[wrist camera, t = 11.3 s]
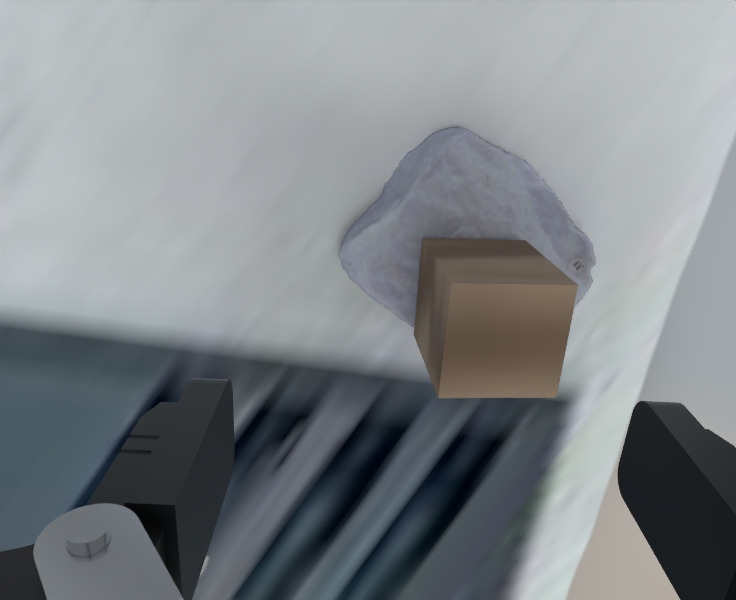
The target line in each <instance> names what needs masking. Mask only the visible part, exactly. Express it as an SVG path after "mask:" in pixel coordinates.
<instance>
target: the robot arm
mask: <svg viewBox="0 0 736 600" xmlns="http://www.w3.org/2000/svg"><path fill="white" fill-rule="evenodd" d="M233 461H234V419H233V390H232V383H231V381H230V380H223V379H202V378H192V379H190V381H189V383H188V385H187V386H186V388H185V390H184V392H183V394H182V396H181V398H180V399H179V401H178V403H171V402H161V403H159V404H158V405H157V406H155V407H154V408H153V409H151V410H150V411H148V412H147V413H146V414H144V415H143V416H142V417H141V418H140V419H139V421H138V423H137V424H136V426H135V428H134V429H133V431H132V432H131V434H130V438H128V439H127V441H126V442H125V444H124V445H123V447H122V449H121V453H119V454H118V455H117V457H116V458H115V460H114V462H113V463H112V465H111V467H110V468H109V470H108V471H107V473H106V475H105V476H104V478H103V480H102V481H101V483H100V484H99V486H98V488H97V489H96V491H95V493H94V494H93V496H92V497H91V499H90V501H89V502H88V504H87V506H83V507H80V508H77V509H74V510H72V511H70V512H67V513H65V514H64V515H62V516H60V517H58V518H57V519H56V520H54V521H53V522H51V523H50V524H49V525H48V526H47V527H46V528H45V529H44V530H43V531H42V532H41V534H40V535H39V537H38V538H37V540H36V542H35V544H33V545H30V546H26V547H22V548H18V549H12V550H7V551H2V552H0V600H192V598H193V595H194V591H195V588H196V585H197V582H198V579H199V576H200V573H201V569H202V566H203V563H204V560H205V557H206V554H207V551H208V547H209V544H210V541H211V538H212V535H213V532H214V529H215V525H216V522H217V519H218V516H219V513H220V510H221V507H222V504H223V500H224V497H225V494H226V491H227V488H228V485H229V482H230V478H231V474H232V469H233ZM618 484H619V489H620V493H621V495H622V498H623V500H624V501H625V503H626V505H627V507H628V508H629V510H630V512H631V514H632V515H633V517H634V519H635V521H636V522H637V524H638V526H639V528H640V529H641V531H642V533H643V535H644V536H645V538H646V540H647V541H648V543H649V545H650V547H651V549H652V550H653V552H654V554H655V555H656V557H657V559H658V561H659V563H660V564H661V566H662V568H663V570H664V571H665V573H666V575H667V577H668V579H669V580H670V582H671V584H672V585H673V587H674V589H675V591H676V593H677V594H678V596H679V598H680V599H681V600H736V448H735V447H734V446H733V445H732V444H730V443H729V442H727V441H725V440H724V439H723V438H721V437H719V436H718V435H716V434H715V433H713V432H712V431H710V430H709V429H704V427H703V426H702V425H701V424H700V423H699V422H698V421H697V420H696V418H695V417H694V416H693V415H692V414H691V413H690V412H689V411H688V410H687V408H686V407H685V406H684V405H682V404H681V403H671V402H652V401H640V402H638V403H637V404H636V406H635V407H634V409H633V412H632V416H631V420H630V424H629V427H628V431H627V435H626V439H625V442H624V446H623V450H622V454H621V458H620V462H619V466H618Z"/></svg>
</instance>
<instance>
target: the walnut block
mask: <svg viewBox="0 0 736 600" xmlns="http://www.w3.org/2000/svg"><path fill="white" fill-rule="evenodd" d="M577 289H578V285H577V284H576V283H575V282H574V281H573V280H572V279H570V278H569V277H568V276H567V275H566V274H565V273H563V272H562V271H561V270H560V269H559V268H558V267H556V266H555V265H554V264H553V263H552V262H550V261H549V260H548V259H547V258H546V257H545V256H543V255H542V254H541V253H540V252H539V251H538V250H536V249H535V248H534V247H533V246H532V245H531V244H529V243H528V242H527V241H526V240H489V239H446V238H422V248H421V260H420V271H419V282H418V293H417V305H416V316H415V327H414V336H415V339H416V342H417V344H418V347H419V349H420V352H421V354H422V357H423V360H424V362H425V365H426V367H427V370H428V373H429V375H430V378H431V380H432V383H433V386H434V388H435V391H436V393H437V396H438V398H548V397H556V396H557V391H558V386H559V381H560V376H561V371H562V365H563V360H564V355H565V350H566V345H567V340H568V335H569V330H570V325H571V319H572V314H573V309H574V304H575V299H576V294H577Z"/></svg>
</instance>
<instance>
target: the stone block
mask: <svg viewBox="0 0 736 600" xmlns="http://www.w3.org/2000/svg"><path fill="white" fill-rule="evenodd" d="M422 238H446V239H489V240H526V241H527V242H528V243H529V244H531V245H532V246H533V247H534V248H535V249H536V250H538V251H539V252H540V253H541V254H542V255H543V256H545V257H546V258H547V259H548V260H549V261H550V262H552V263H553V264H554V265H555V266H556V267H558V268H559V269H560V270H561V271H562V272H563V273H565V274H566V275H567V276H568V277H569V278H570V279H572V280H573V281H574V282H575V283H576V284H577V285H578V289H577V294H576V299H575V304H574V307H575V306H576V305H577V304H578V303H579V302H580V301H581V299H582V298H583V297H584V295H585V294H586V292H587V291H588V289H589V288H590V286H591V284H592V282H593V280H592V277H591V272H590V269H591V268H592V267H593V266H594V265H595V264H596V259H595V255H594V251H593V244H592V242H591V241H590V239H589V238H588V237H587V236H586V235H585V234H584V233H583V232H582V231H580V230H579V229H578V228H577V227H576V226H575V225H574V224H573V222H572V221H571V219H570V218H569V216H568V214H567V212H566V210H565V209H564V207H563V205H562V203H561V202H560V201H559V200H558V198H557V197H556V195H555V194H554V193H553V191H552V190H551V189H550V187H549V186H548V185H547V184H546V183H545V182H544V181H543V180H542V179H541V178H540V177H539V175H538V174H537V173H536V172H535V171H534V169H533V168H532V167H531V166H530V165H529V164H528V163H527V162H526V161H524V160H522V159H520V158H517V157H515V156H513V155H511V154H509V153H507V152H505V151H503V150H502V149H501V148H500V147H498V146H495V145H491V144H489V143H486V142H485V141H484V140H482V139H481V138H479V137H477V136H476V135H475V134H474V133H473V132H471V131H469V130H467V129H465V128H461V127H455V128H453V127H452V128H449V129H444V130H441V131H438V132H435V133H433V134H432V135H431V136H429V137H428V138H426V139H425V140H424V142H423V143H422V144H420V145H419V146H418V147H417V148H415V149H414V150H413V151H410V152H408V154H407V155H406V156H405V157H404V158H403V159H402V160H401V161H400V163H399V166H398V167H397V169H396V170H395V172H394V173H393V175H392V177H391V178H390V180H389V181H388V182H387V183H385V186H384V189H383V192H382V194H381V197H380V198H379V199H378V200H377V201H376V202H375V203H374V204H373V205H372V206H371V207H369V208H368V210H367V212H365V213H364V214H363V215H362V216H361V217H360V218H359V219H358V221H357V222H356V223H355V224H354V225H353V226H352V228H351V229H350V230H349V231H348V232H347V234H346V236H345V239H344V242H343V243H342V245H341V247H340V250H339V252H338V255H339V257H340V260H341V262H342V267H343V269H344V270H345V271H346V272H347V274H348V276H349V277H350V279H351V280H353V281H354V282H355V283H356V284H357V285H359V286H360V287H361V288H362V289H363V290H364V291H365V292H367V293H368V294H369V295H370V296H371V297H372V298H374V299H375V300H376V301H377V302H379V303H380V304H382V305H383V306H384V307H386V308H387V309H389V310H390V311H391V312H393V313H394V314H395V315H397V316H398V317H399V318H401V319H402V320H404V321H405V322H407V323H408V324H410V325H411V326H413V327H415V316H416V305H417V293H418V282H419V271H420V260H421V248H422Z"/></svg>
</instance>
